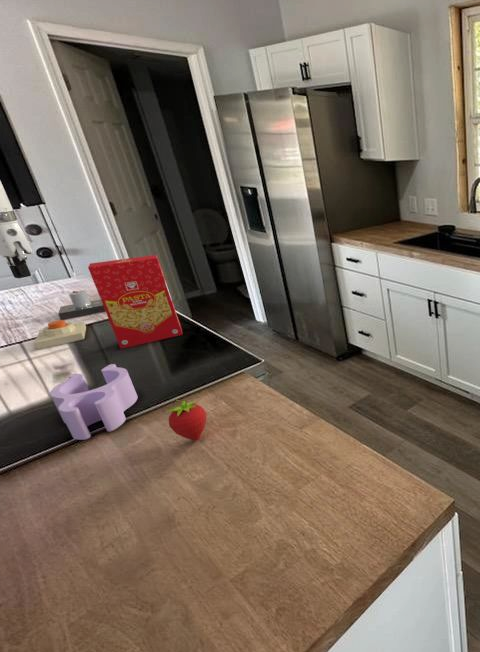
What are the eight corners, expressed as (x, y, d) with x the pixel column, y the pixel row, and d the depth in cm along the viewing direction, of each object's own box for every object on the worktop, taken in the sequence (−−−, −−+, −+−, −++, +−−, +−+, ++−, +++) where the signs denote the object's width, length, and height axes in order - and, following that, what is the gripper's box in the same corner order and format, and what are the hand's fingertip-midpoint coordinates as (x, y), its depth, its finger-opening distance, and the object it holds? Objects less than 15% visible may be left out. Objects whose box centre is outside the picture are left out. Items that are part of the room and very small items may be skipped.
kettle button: (66, 327, 127) (63, 322, 126) (49, 330, 125) (47, 325, 124) (67, 324, 130) (64, 319, 129) (50, 327, 127) (48, 322, 127)
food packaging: (120, 348, 121) (88, 267, 112) (121, 342, 125) (90, 263, 116) (182, 334, 130) (157, 258, 121) (181, 329, 134) (156, 254, 125)
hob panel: (60, 320, 142) (57, 313, 141) (63, 312, 148) (60, 306, 147) (107, 311, 149) (105, 304, 148) (108, 304, 155) (105, 298, 154)
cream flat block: (84, 339, 127) (79, 327, 126) (37, 349, 121) (31, 337, 120) (86, 327, 136) (81, 316, 134) (42, 336, 130) (37, 324, 128)
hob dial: (94, 304, 149) (88, 290, 147) (79, 308, 145) (72, 294, 143) (86, 302, 150) (81, 289, 148) (71, 307, 146) (65, 293, 144)
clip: (138, 422, 89) (126, 395, 86) (56, 448, 81) (41, 420, 79) (137, 384, 103) (127, 360, 100) (67, 404, 95) (54, 378, 93)
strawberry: (180, 456, 79) (164, 413, 75) (174, 438, 84) (158, 397, 80) (217, 442, 83) (202, 400, 79) (209, 425, 88) (195, 385, 84)
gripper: (29, 217, 123) (53, 276, 130) (0, 214, 128) (25, 271, 134) (-7, 222, 116) (20, 283, 123) (-36, 218, 121) (-8, 277, 128)
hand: (23, 276), depth 129 cm, fingers closed
